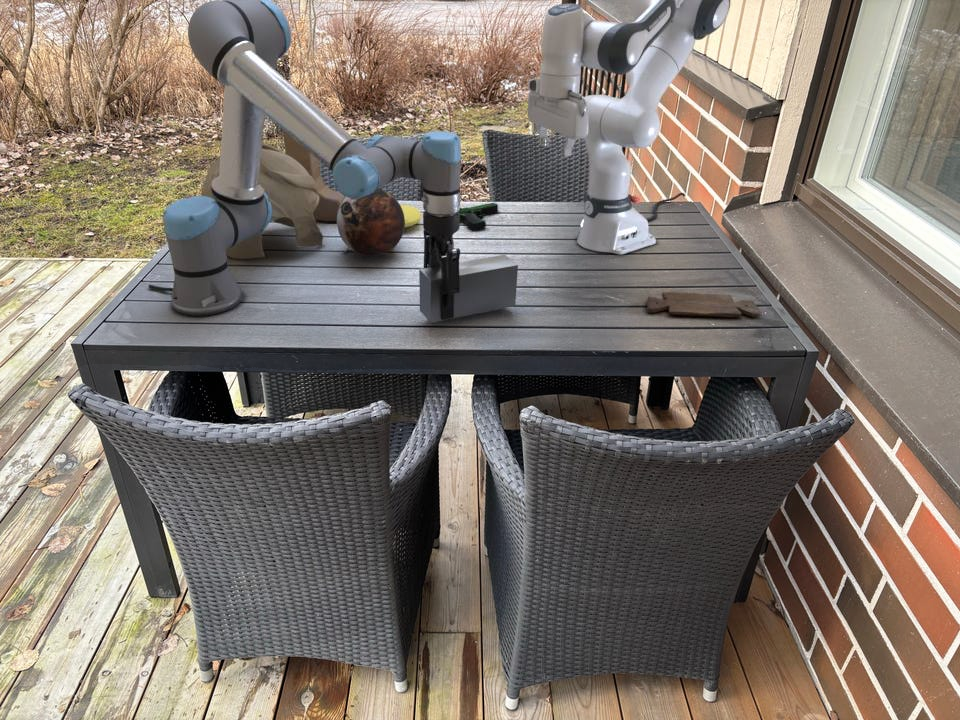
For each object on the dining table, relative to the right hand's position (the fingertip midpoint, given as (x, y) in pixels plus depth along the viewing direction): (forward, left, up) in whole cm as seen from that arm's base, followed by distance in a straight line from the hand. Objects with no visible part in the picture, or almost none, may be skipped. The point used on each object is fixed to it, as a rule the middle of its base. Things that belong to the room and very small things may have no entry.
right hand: (555, 150), depth 164 cm
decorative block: (+39, -68, -32) cm, 84 cm away
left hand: (+34, +10, -29) cm, 46 cm away
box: (+27, +10, -30) cm, 42 cm away
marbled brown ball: (+34, -35, -32) cm, 58 cm away
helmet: (+58, -51, -32) cm, 84 cm away
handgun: (-4, -46, -32) cm, 56 cm away
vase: (+21, -52, -32) cm, 65 cm away
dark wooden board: (-24, +29, -32) cm, 50 cm away
